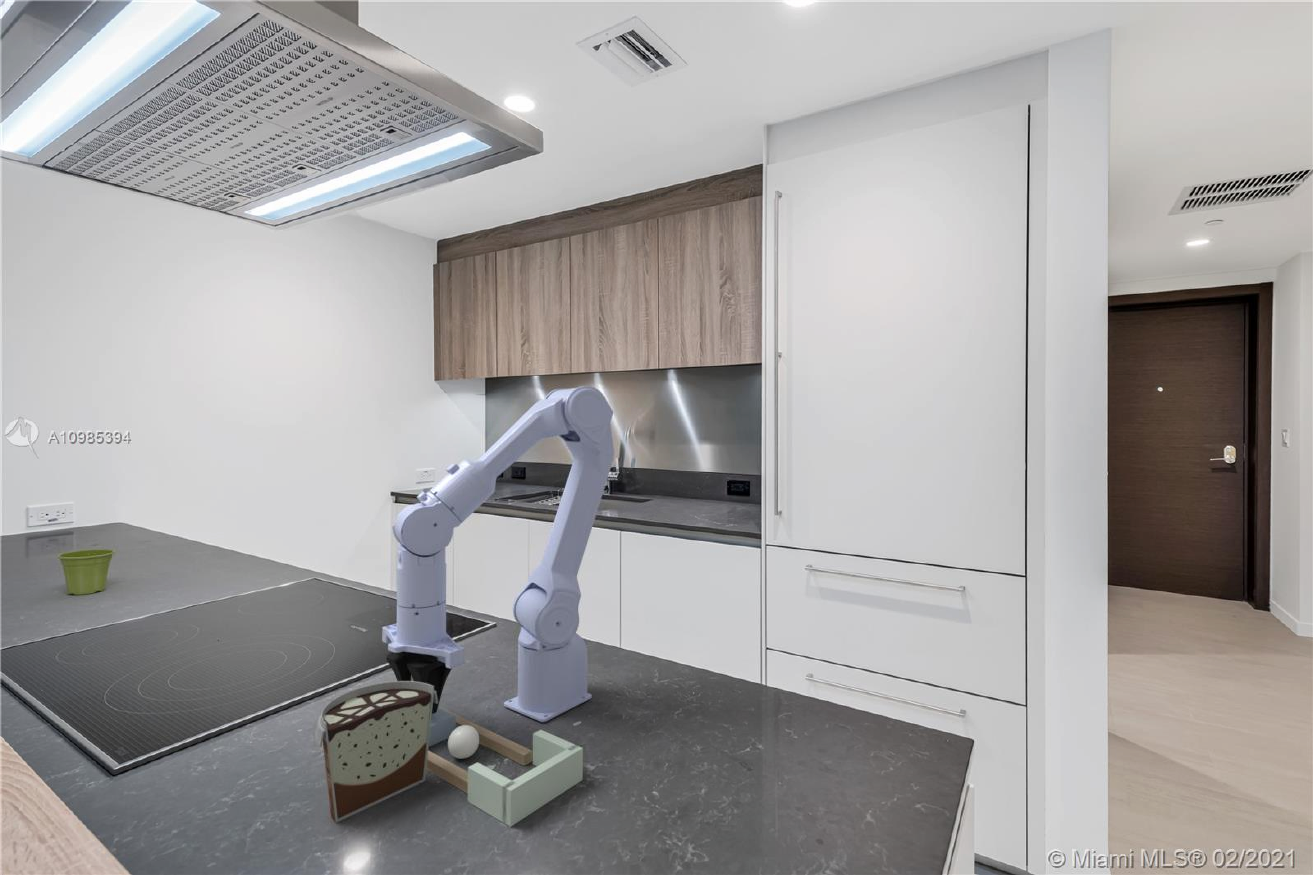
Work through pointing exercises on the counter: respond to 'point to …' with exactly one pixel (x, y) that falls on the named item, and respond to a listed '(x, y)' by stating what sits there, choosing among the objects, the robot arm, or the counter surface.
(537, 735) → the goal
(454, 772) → the lane
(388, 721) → the food container
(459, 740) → the ball
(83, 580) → the plant pot
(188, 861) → the counter surface
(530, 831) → the counter surface
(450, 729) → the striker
